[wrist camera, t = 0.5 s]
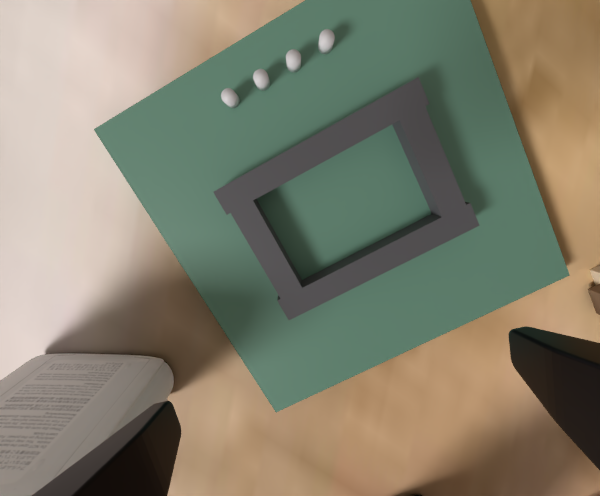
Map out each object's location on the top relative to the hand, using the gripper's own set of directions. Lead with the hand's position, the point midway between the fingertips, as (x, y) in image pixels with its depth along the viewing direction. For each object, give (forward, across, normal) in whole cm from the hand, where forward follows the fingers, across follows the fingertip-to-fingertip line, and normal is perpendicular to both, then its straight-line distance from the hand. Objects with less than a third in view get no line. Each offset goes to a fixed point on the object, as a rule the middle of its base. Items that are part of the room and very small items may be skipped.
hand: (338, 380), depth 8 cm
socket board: (+14, -2, -3) cm, 14 cm away
